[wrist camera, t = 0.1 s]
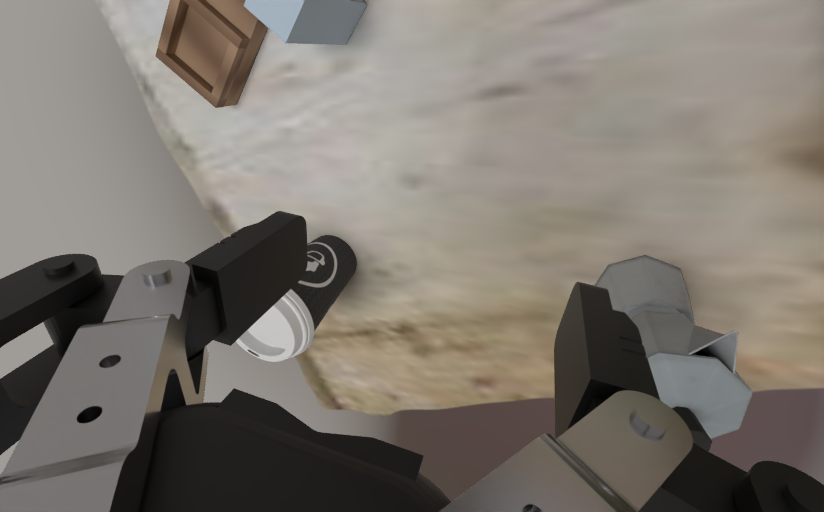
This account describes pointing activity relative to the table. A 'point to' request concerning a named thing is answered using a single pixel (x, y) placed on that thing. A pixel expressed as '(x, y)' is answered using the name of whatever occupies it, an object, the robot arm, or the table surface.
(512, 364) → the table surface
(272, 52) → the table surface
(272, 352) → the coffee cup
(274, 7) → the block
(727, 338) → the coffee maker
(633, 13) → the table surface
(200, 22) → the wooden block holder
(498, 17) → the table surface
